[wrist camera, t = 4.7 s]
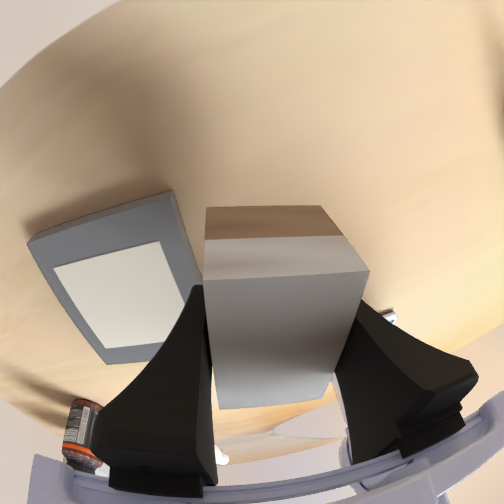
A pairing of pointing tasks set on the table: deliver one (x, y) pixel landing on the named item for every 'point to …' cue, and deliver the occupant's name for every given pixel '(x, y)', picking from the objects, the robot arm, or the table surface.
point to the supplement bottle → (81, 437)
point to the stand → (121, 275)
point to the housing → (277, 302)
